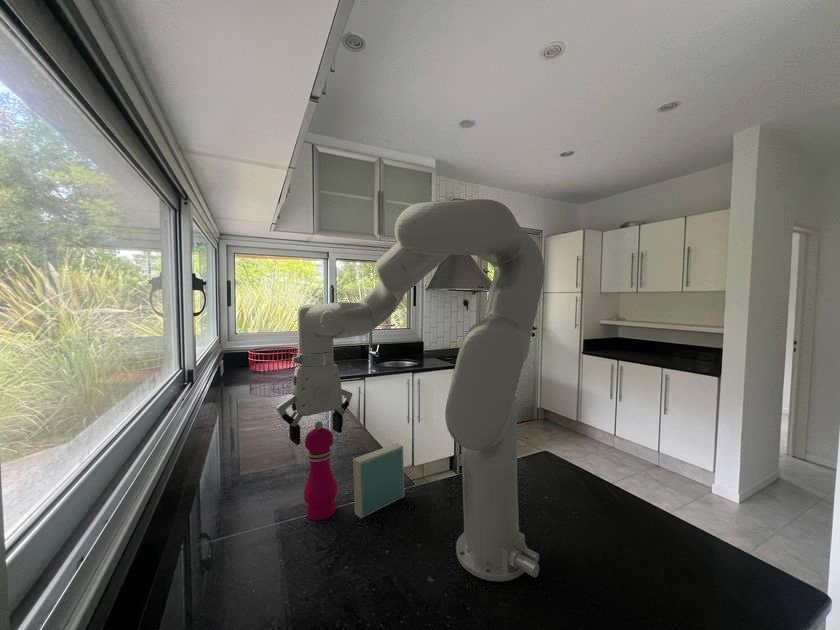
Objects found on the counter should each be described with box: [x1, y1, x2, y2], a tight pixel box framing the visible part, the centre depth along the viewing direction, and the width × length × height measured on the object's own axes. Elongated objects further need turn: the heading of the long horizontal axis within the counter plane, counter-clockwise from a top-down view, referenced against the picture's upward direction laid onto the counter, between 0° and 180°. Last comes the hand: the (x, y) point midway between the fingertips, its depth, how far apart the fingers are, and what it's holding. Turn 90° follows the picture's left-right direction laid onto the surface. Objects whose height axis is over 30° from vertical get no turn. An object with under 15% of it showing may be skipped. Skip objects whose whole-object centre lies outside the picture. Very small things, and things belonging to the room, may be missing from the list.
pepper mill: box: [303, 421, 339, 521], centre depth 73 cm, size 7×7×20 cm
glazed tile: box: [352, 443, 405, 519], centre depth 75 cm, size 3×12×12 cm, turn 132°
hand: (317, 436), depth 73 cm, fingers open, 9 cm apart
